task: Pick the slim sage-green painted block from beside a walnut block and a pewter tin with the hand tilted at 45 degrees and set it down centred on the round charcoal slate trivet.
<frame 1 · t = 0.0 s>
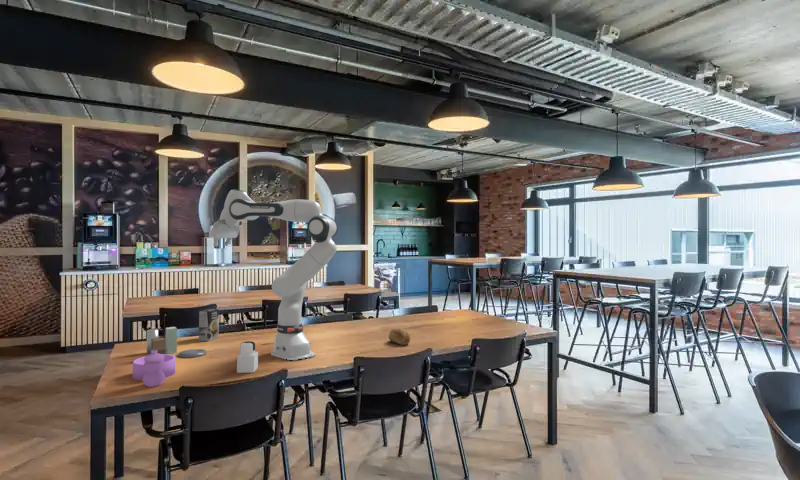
hand: (220, 245, 221), 52 cm above the table, tool tilted 20°, fingers open, 8 cm apart
pewter tin: (152, 352, 212), on the table
bread roll: (399, 343, 237), on the table
walnut block: (158, 358, 203), on the table
sage block: (171, 352, 213), on the table
container set: (154, 378, 175), on the table
trivet: (192, 354, 210), on the table
medicine bottle: (247, 370, 187), on the table
coffee box: (209, 339, 241), on the table
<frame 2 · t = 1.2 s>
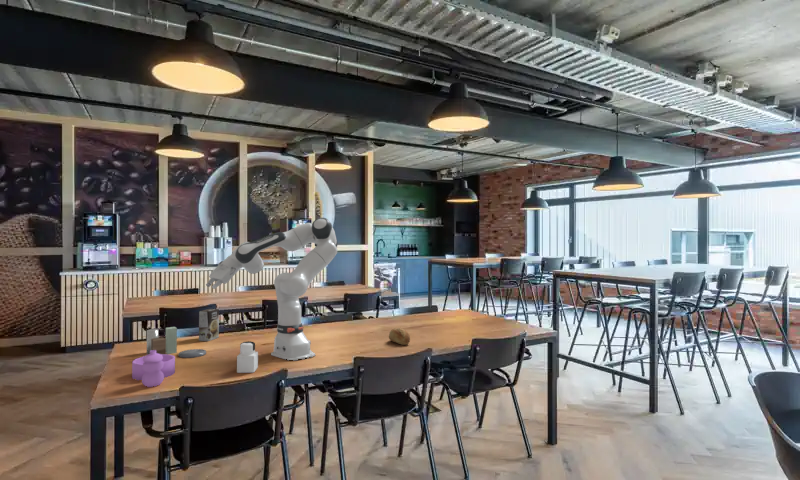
hand: (210, 287, 220), 31 cm above the table, tool tilted 45°, fingers open, 8 cm apart
nothing on the table moved.
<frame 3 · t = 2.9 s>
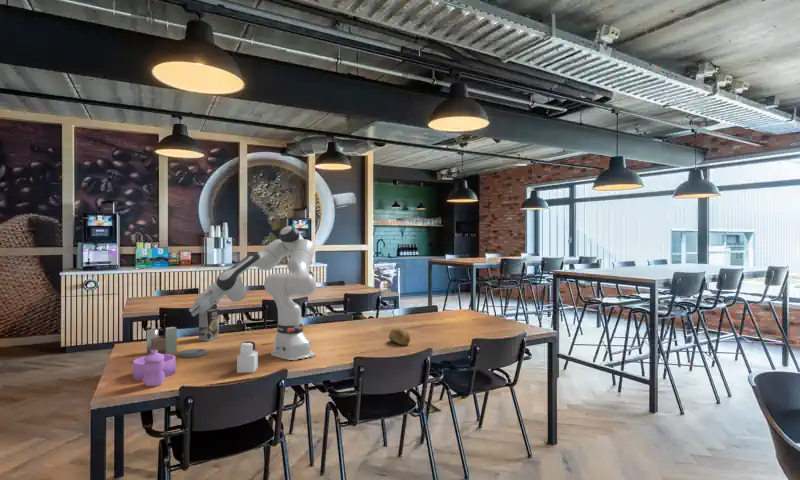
hand: (191, 313, 222), 17 cm above the table, tool tilted 50°, fingers open, 8 cm apart
nothing on the table moved.
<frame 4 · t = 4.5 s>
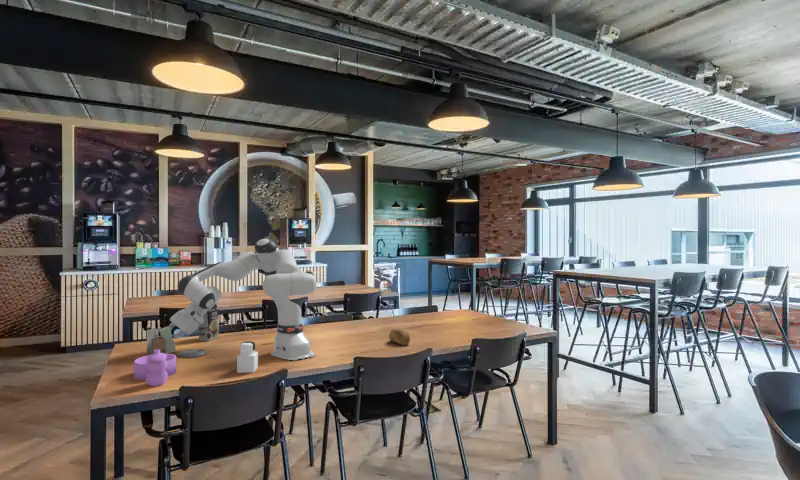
hand: (170, 334, 215), 8 cm above the table, tool tilted 45°, fingers open, 8 cm apart
sage block: (170, 351, 213), on the table, tilted 14°
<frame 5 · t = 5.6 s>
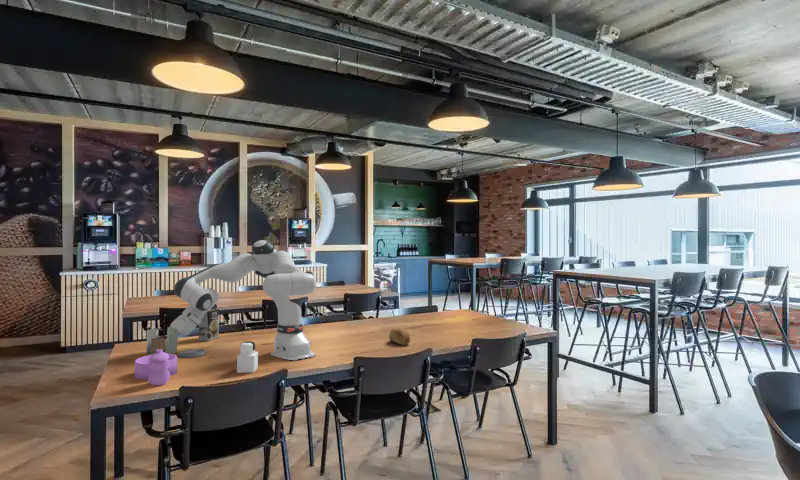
hand: (169, 338, 212), 7 cm above the table, tool tilted 45°, fingers closed on sage block, 4 cm apart
sage block: (171, 352, 213), on the table, touching gripper
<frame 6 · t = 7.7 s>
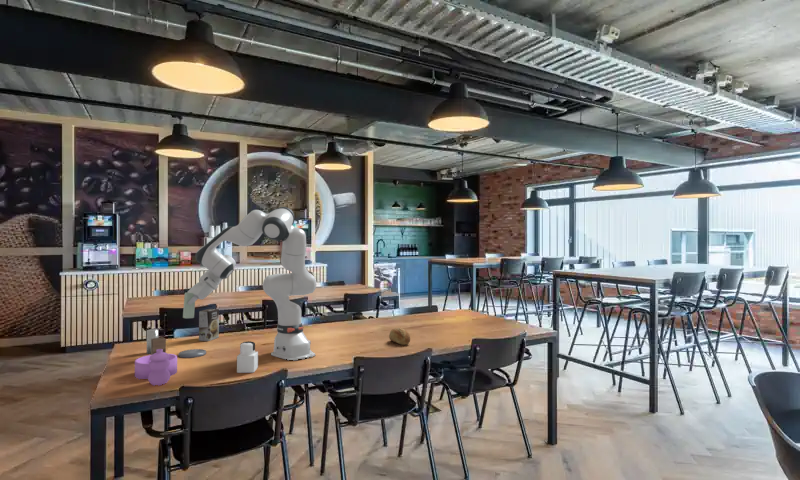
hand: (186, 303, 211), 24 cm above the table, tool tilted 45°, fingers closed on sage block, 4 cm apart
sage block: (188, 317, 211), point 17 cm above the table, tilted 5°, touching gripper
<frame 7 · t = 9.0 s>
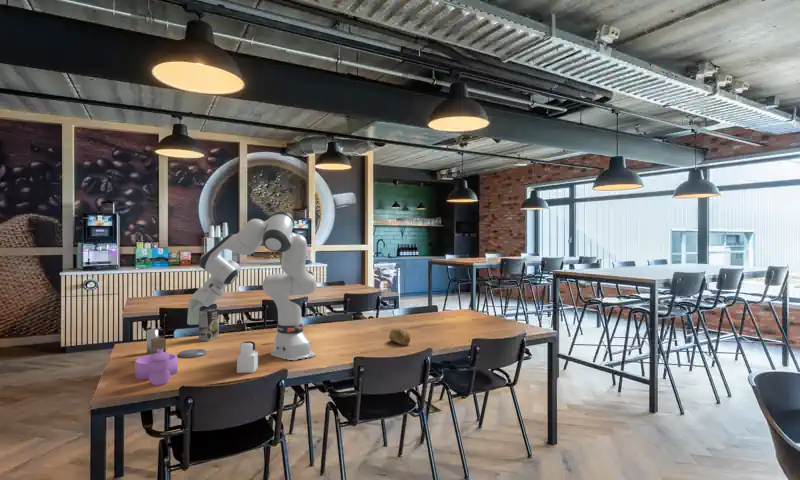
hand: (191, 309, 209), 22 cm above the table, tool tilted 45°, fingers closed on sage block, 4 cm apart
sage block: (192, 323, 210), point 15 cm above the table, touching gripper
when the fingers open (9 cm above the table, at t = 11.4 s): sage block drops 2 cm, resting on trivet.
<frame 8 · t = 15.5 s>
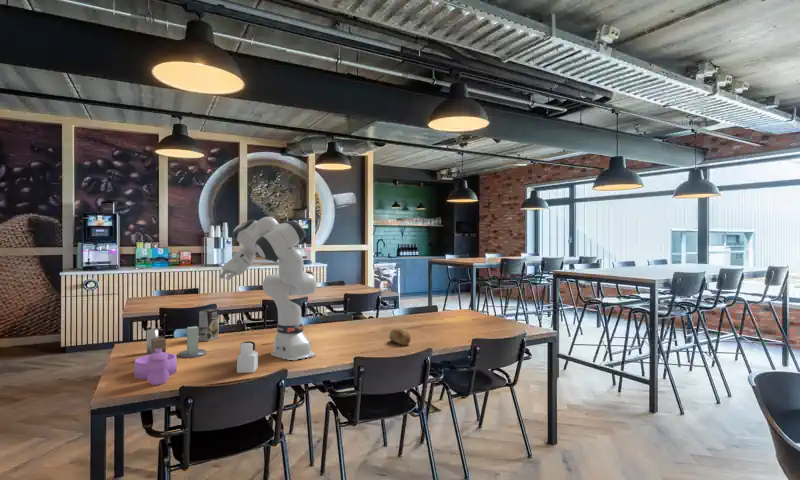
hand: (223, 278, 222), 35 cm above the table, tool tilted 45°, fingers open, 8 cm apart
sage block: (192, 352, 210), point 1 cm above the table, touching trivet
at the end: sage block 0.1 cm from the trivet (horizontally); sage block tilted 0°; the gripper is holding nothing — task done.
